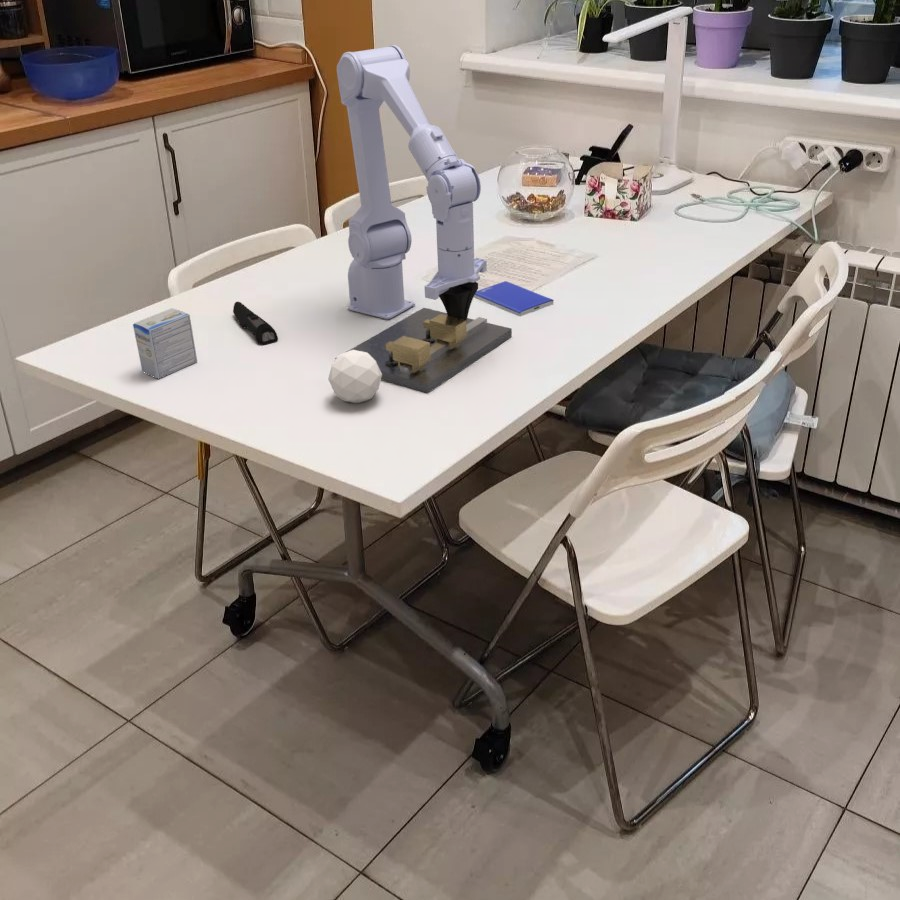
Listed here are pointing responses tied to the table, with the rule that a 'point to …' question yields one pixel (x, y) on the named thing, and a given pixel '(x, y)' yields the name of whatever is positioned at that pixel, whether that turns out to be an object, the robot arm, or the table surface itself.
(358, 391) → the ball
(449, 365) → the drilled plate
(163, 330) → the medicine box
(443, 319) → the block
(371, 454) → the table surface
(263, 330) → the electric trimmer
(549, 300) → the hard drive
